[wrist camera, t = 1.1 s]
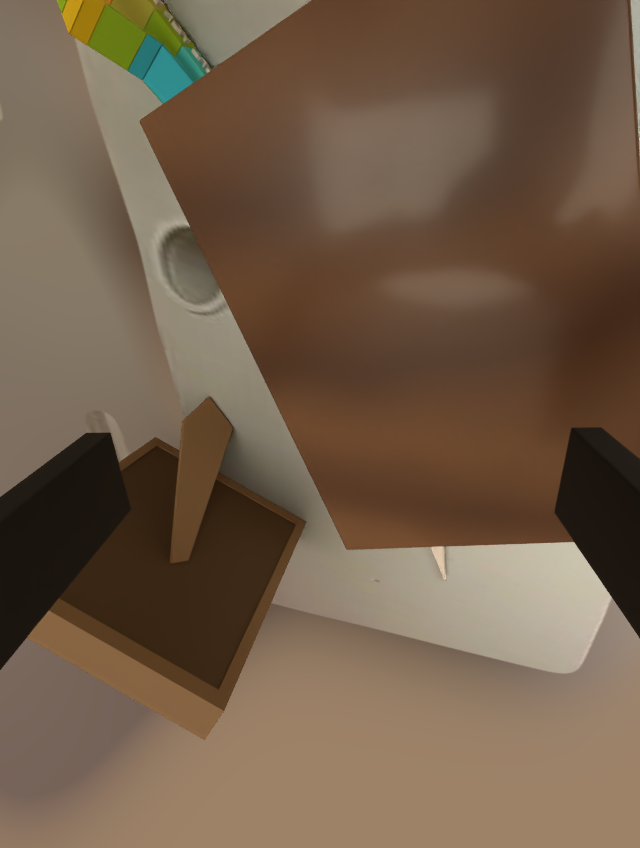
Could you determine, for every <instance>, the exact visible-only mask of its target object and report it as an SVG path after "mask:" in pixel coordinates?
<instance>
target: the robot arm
mask: <svg viewBox="0 0 640 848" xmlns="http://www.w3.org/2000/svg"><path fill="white" fill-rule="evenodd" d="M130 510H131V506H130V502H129V499H128V495H127V491H126V488H125V484H124V480H123V477H122V473H121V470H120V466H119V462H118V459H117V455H116V451H115V448H114V444H113V440H112V437H111V433H86V434H84V435H83V436H82V437H80V438H79V439H78V440H76V441H75V442H74V443H72V444H71V445H70V446H68V447H67V448H66V449H64V450H63V451H61V452H60V453H59V454H57V455H56V456H55V457H53V458H52V459H51V460H49V461H48V462H47V463H46V464H44V465H43V466H41V467H40V468H39V469H37V470H36V471H35V472H33V473H32V474H31V475H29V476H28V477H27V478H25V479H24V480H23V481H21V482H20V483H19V484H17V485H16V486H15V487H13V488H12V489H11V490H9V491H8V492H7V493H5V494H4V495H3V496H1V497H0V670H1V668H2V667H3V666H4V665H5V664H6V662H7V661H8V660H9V659H10V657H11V656H12V655H13V654H14V653H15V651H16V650H17V649H18V647H19V646H20V645H21V644H22V643H23V641H24V640H25V639H26V638H27V637H28V635H29V634H30V633H31V632H32V630H33V629H34V628H35V627H36V626H37V624H38V623H39V622H40V621H41V619H42V618H43V617H44V616H45V615H46V613H47V612H48V611H49V610H50V608H51V607H52V606H53V605H54V604H55V602H56V601H57V600H58V599H59V597H60V596H61V595H62V594H63V592H64V591H65V590H66V589H67V588H68V586H69V585H70V584H71V583H72V581H73V580H74V579H75V578H76V577H77V575H78V574H79V573H80V572H81V570H82V569H83V568H84V567H85V566H86V564H87V563H88V562H89V561H90V559H91V558H92V557H93V556H94V555H95V553H96V552H97V551H98V550H99V548H100V547H101V546H102V545H103V543H104V542H105V541H106V540H107V539H108V537H109V536H110V535H111V534H112V532H113V531H114V530H115V529H116V528H117V526H118V525H119V524H120V523H121V521H122V520H123V519H124V518H125V517H126V515H127V514H128V513H129V512H130ZM554 513H555V514H556V516H557V517H558V519H559V520H560V522H561V523H562V525H563V526H564V528H565V529H566V531H567V532H568V533H569V535H570V536H571V538H572V539H573V541H574V542H575V544H576V545H577V547H578V548H579V550H580V551H581V553H582V554H583V555H584V557H585V558H586V560H587V561H588V563H589V564H590V566H591V567H592V569H593V570H594V572H595V573H596V575H597V576H598V578H599V579H600V580H601V582H602V583H603V585H604V586H605V588H606V589H607V591H608V592H609V594H610V595H611V597H612V598H613V600H614V601H615V602H616V604H617V605H618V607H619V608H620V610H621V611H622V613H623V614H624V616H625V617H626V618H627V620H628V622H629V623H630V624H631V626H632V627H633V629H634V630H635V632H636V633H637V635H638V636H639V638H640V459H639V458H638V457H637V456H635V455H634V454H633V453H632V452H631V451H629V450H628V449H627V448H626V447H625V446H623V445H622V444H621V443H620V442H619V441H617V440H616V439H615V438H614V437H613V436H611V435H610V434H609V433H608V432H606V431H605V430H604V429H603V428H602V427H580V428H571V431H570V436H569V441H568V446H567V451H566V456H565V461H564V466H563V471H562V476H561V481H560V486H559V491H558V496H557V501H556V506H555V511H554Z"/></svg>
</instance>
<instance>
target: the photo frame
mask: <svg viewBox="0 0 640 848" xmlns="http://www.w3.org/2000/svg"><path fill="white" fill-rule="evenodd" d="M232 429H233V427H232V426H231V424H230V423H229V422H228V421H227V419H226V418H225V417H224V415H223V414H222V413H221V412H220V410H219V409H218V408H217V406H216V405H215V404H214V403H213V401H212V400H211V399H210V398H207V399H206V400H205V401H204V402H202V403H201V404H200V405H199V406H198V407H197V408H196V409H195V410H194V411H193V412H192V413H191V414H189V415H188V416H187V417H186V418H185V419H184V420H183V421H182V428H181V440H180V451H179V450H177V449H175V448H174V447H172V446H170V445H168V444H167V443H165V442H163V441H161V440H160V439H158V438H154V439H152V440H151V441H149V442H148V443H146V444H145V445H144V446H142V447H141V448H139V449H138V450H136V451H135V452H133V453H132V454H131V455H129V456H128V457H126V458H125V459H123V460H122V461H120V462H119V466H120V470H121V473H122V477H123V480H124V484H125V488H126V491H127V495H128V499H129V502H130V506H131V510H130V512H129V513H128V514H127V515H126V517H125V518H124V519H123V520H122V521H121V523H120V524H119V525H118V526H117V528H116V529H115V530H114V531H113V532H112V534H111V535H110V536H109V537H108V539H107V540H106V541H105V542H104V543H103V545H102V546H101V547H100V548H99V550H98V551H97V552H96V553H95V555H94V556H93V557H92V558H91V559H90V561H89V562H88V563H87V564H86V566H85V567H84V568H83V569H82V570H81V572H80V573H79V574H78V575H77V577H76V578H75V579H74V580H73V581H72V583H71V584H70V585H69V586H68V588H67V589H66V590H65V591H64V592H63V594H62V595H61V596H60V597H59V599H58V600H57V601H56V602H55V604H54V605H53V606H52V607H51V608H50V610H49V611H48V612H47V613H46V615H45V616H44V617H43V618H42V619H41V621H40V622H39V623H38V624H37V626H36V627H35V628H34V629H33V630H32V632H31V633H30V634H29V635H28V637H27V638H28V639H30V640H32V641H33V642H35V643H37V644H39V645H41V646H42V647H44V648H46V649H48V650H49V651H51V652H53V653H54V654H56V655H58V656H60V657H61V658H63V659H65V660H66V661H68V662H70V663H72V664H74V665H75V666H77V667H79V668H81V669H82V670H84V671H86V672H87V673H89V674H91V675H93V676H94V677H96V678H98V679H99V680H101V681H103V682H105V683H107V684H108V685H110V686H112V687H113V688H115V689H117V690H119V691H120V692H122V693H124V694H126V695H127V696H129V697H131V698H133V699H134V700H136V701H138V702H139V703H141V704H143V705H145V706H146V707H148V708H150V709H152V710H153V711H155V712H157V713H159V714H160V715H162V716H164V717H166V718H167V719H169V720H171V721H173V722H174V723H176V724H178V725H179V726H181V727H183V728H185V729H186V730H188V731H190V732H192V733H194V734H195V735H197V736H199V737H200V738H202V739H206V737H207V736H208V734H209V733H210V731H211V730H212V728H213V727H214V725H215V724H216V722H217V721H218V719H219V718H220V716H221V715H222V713H223V711H224V710H225V707H226V705H227V703H228V701H229V698H230V696H231V694H232V691H233V689H234V687H235V684H236V682H237V680H238V677H239V675H240V673H241V671H242V668H243V666H244V664H245V662H246V659H247V657H248V655H249V652H250V650H251V648H252V645H253V643H254V641H255V639H256V636H257V634H258V631H259V629H260V627H261V624H262V622H263V620H264V618H265V615H266V613H267V611H268V608H269V606H270V604H271V602H272V599H273V597H274V595H275V592H276V590H277V588H278V586H279V583H280V581H281V579H282V576H283V574H284V572H285V569H286V567H287V565H288V563H289V560H290V558H291V556H292V553H293V551H294V549H295V546H296V544H297V542H298V540H299V537H300V535H301V533H302V530H303V528H304V526H305V523H306V522H305V521H303V520H301V519H299V518H298V517H296V516H294V515H292V514H291V513H289V512H287V511H285V510H284V509H282V508H280V507H278V506H276V505H275V504H273V503H271V502H269V501H268V500H266V499H264V498H262V497H261V496H259V495H257V494H255V493H253V492H252V491H250V490H248V489H246V488H245V487H243V486H241V485H239V484H238V483H236V482H234V481H232V480H230V479H229V478H227V477H225V476H223V475H222V474H220V473H218V471H219V468H220V465H221V462H222V459H223V456H224V453H225V450H226V447H227V444H228V441H229V438H230V435H231V432H232Z"/></svg>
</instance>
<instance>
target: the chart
mask: <svg viewBox="0 0 640 848" xmlns="http://www.w3.org/2000/svg"><path fill="white" fill-rule="evenodd" d="M57 2H58V5H59V8H60V10H61V13H62V16H63V18H64V21H65V24H66V26H67V29H68V32H69V34H71V35H72V36H73V37H75V38H76V39H78V40H80V41H81V42H83V43H84V44H86V45H88V46H89V47H91V48H92V49H94V50H96V51H97V52H99V53H100V54H102V55H104V56H105V57H107V58H108V59H110V60H111V61H113V62H115V63H116V64H118V65H119V66H121V67H123V68H124V69H126V70H128V71H129V72H130V73H132V74H133V75H135V76H137V77H138V78H140V79H141V80H143V81H144V83H145V84H146V85H147V86H148V87H149V88H150V89H151V91H152V92H153V93H154V94H155V95H156V96H157V97H158V98H159V100H160V101H161V102H162V103H163V104H164V103H165V102H167V101H168V100H170V99H171V98H172V97H174V96H175V95H177V94H178V93H180V92H181V91H182V90H184V89H185V88H187V87H188V86H190V85H191V84H192V83H194V82H195V81H197V80H198V79H200V78H201V77H202V76H204V75H205V74H207V73H208V72H210V71H211V70H212V69H211V68H210V67H209V65H208V63H207V62H206V61H205V60H204V58H203V57H202V56H201V54H200V53H199V52H198V50H196V47H195V46H194V45H193V43H192V42H191V40H190V39H189V38H188V37H187V35H186V34H185V33H184V31H183V30H182V28H181V27H180V25H179V24H178V23H177V22H176V20H175V19H174V18H173V16H172V15H171V14H170V12H169V11H168V9H167V8H166V7H165V5H164V4H163V2H162V1H161V0H57Z"/></svg>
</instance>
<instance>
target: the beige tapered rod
mask: <svg viewBox="0 0 640 848" xmlns="http://www.w3.org/2000/svg"><path fill="white" fill-rule="evenodd" d="M431 549H432V551H433V554H434V556H435V558H436V561H437V564H438V566H439V569H440V571H441V573H442V576H443V578H444V580H445V581H446V568H445V546H441V547H431Z"/></svg>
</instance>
